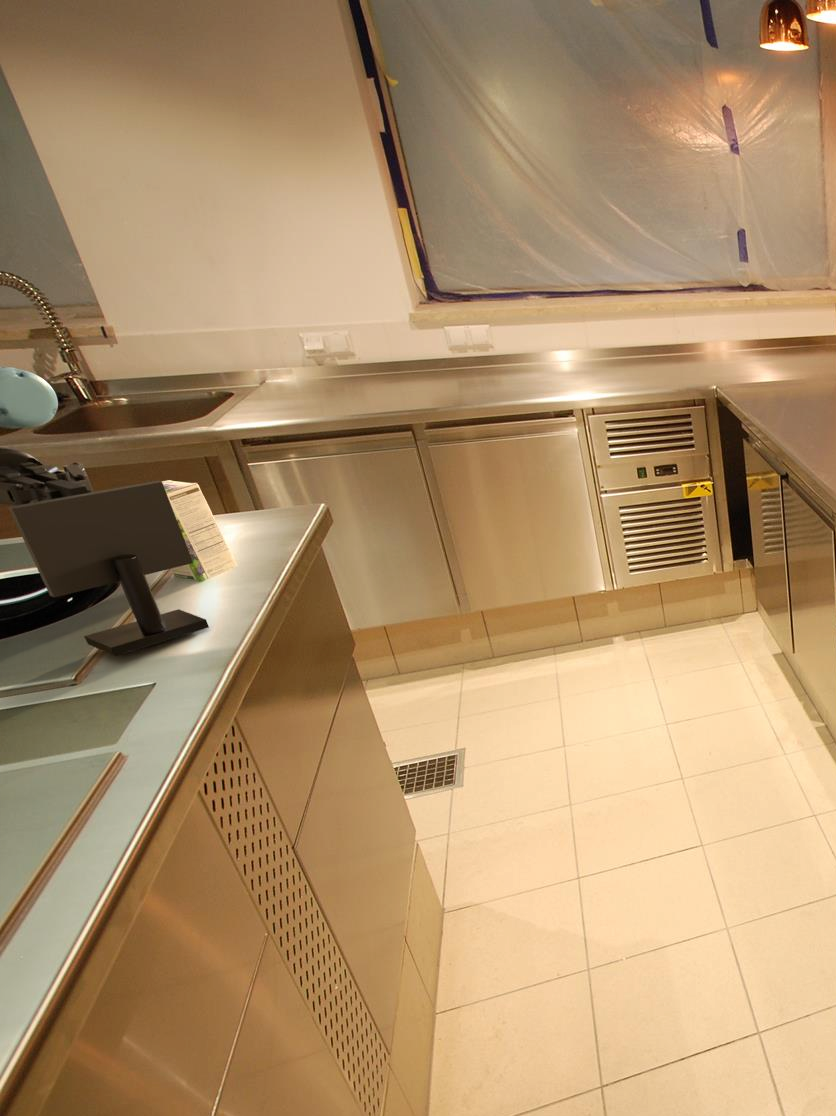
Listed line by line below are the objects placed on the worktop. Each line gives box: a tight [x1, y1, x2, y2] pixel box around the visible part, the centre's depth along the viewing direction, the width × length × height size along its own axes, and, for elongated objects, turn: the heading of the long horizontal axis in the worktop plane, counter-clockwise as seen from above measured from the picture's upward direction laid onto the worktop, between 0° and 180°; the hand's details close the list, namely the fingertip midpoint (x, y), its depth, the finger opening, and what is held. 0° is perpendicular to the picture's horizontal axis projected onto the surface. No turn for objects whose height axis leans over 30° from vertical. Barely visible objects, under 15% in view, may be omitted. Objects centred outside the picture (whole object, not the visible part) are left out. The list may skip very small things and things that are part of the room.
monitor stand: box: [83, 554, 210, 657], centre depth 107 cm, size 10×7×11 cm
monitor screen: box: [8, 480, 193, 598], centre depth 104 cm, size 14×1×11 cm, turn 153°
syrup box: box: [161, 479, 238, 583], centre depth 124 cm, size 6×6×14 cm
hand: (82, 498), depth 103 cm, fingers closed
